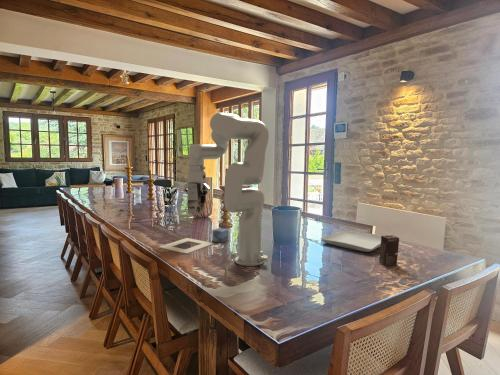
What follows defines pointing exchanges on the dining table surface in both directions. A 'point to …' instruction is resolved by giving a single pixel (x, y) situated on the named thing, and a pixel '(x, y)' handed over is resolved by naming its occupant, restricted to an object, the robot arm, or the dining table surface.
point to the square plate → (354, 240)
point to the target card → (189, 250)
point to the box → (389, 250)
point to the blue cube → (220, 235)
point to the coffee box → (195, 199)
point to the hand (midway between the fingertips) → (196, 202)
